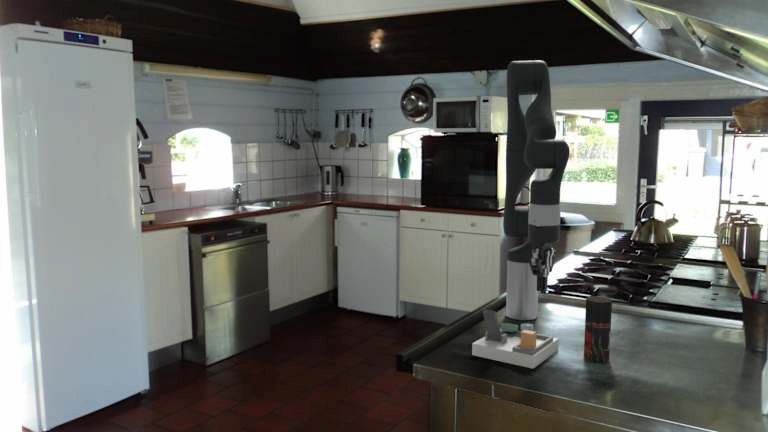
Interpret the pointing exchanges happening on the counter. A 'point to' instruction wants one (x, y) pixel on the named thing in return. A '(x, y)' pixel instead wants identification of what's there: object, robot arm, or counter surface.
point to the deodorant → (597, 329)
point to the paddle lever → (492, 325)
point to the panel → (515, 349)
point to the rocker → (509, 327)
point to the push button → (526, 327)
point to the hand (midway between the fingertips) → (541, 290)
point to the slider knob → (528, 339)
